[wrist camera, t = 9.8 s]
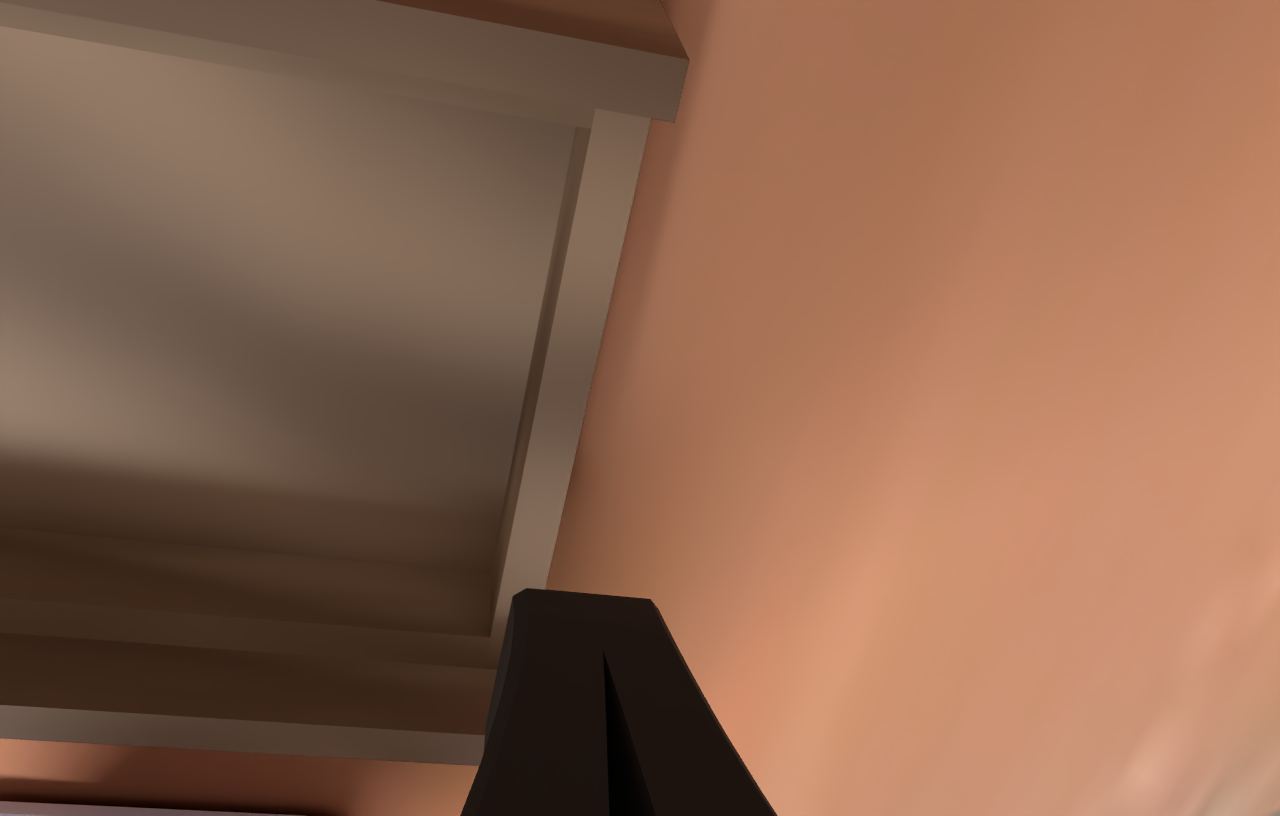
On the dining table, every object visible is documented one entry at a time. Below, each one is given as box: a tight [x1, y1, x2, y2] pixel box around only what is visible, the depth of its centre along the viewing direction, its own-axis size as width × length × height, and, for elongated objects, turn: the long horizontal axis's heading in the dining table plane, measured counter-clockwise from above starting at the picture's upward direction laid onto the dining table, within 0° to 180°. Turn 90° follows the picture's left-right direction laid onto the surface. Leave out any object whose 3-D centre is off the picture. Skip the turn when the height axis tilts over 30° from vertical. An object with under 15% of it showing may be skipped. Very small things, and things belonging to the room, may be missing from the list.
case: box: [0, 0, 689, 766], centre depth 17 cm, size 13×16×4 cm
